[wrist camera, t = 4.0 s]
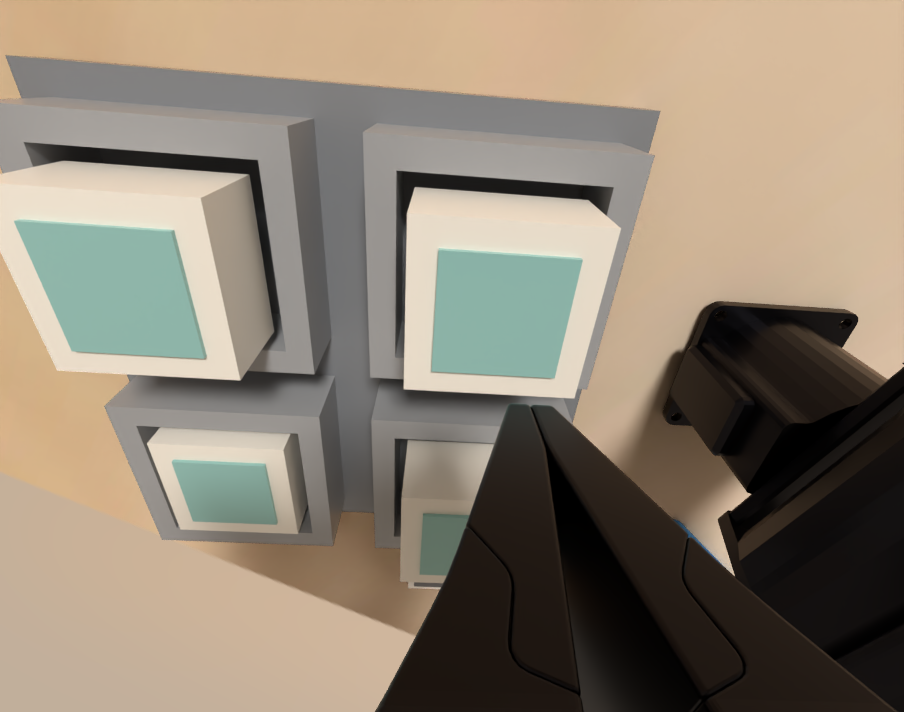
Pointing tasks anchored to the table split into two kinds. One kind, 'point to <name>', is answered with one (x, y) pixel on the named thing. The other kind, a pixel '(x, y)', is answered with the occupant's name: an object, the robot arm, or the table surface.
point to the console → (327, 249)
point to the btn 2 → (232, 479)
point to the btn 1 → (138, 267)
